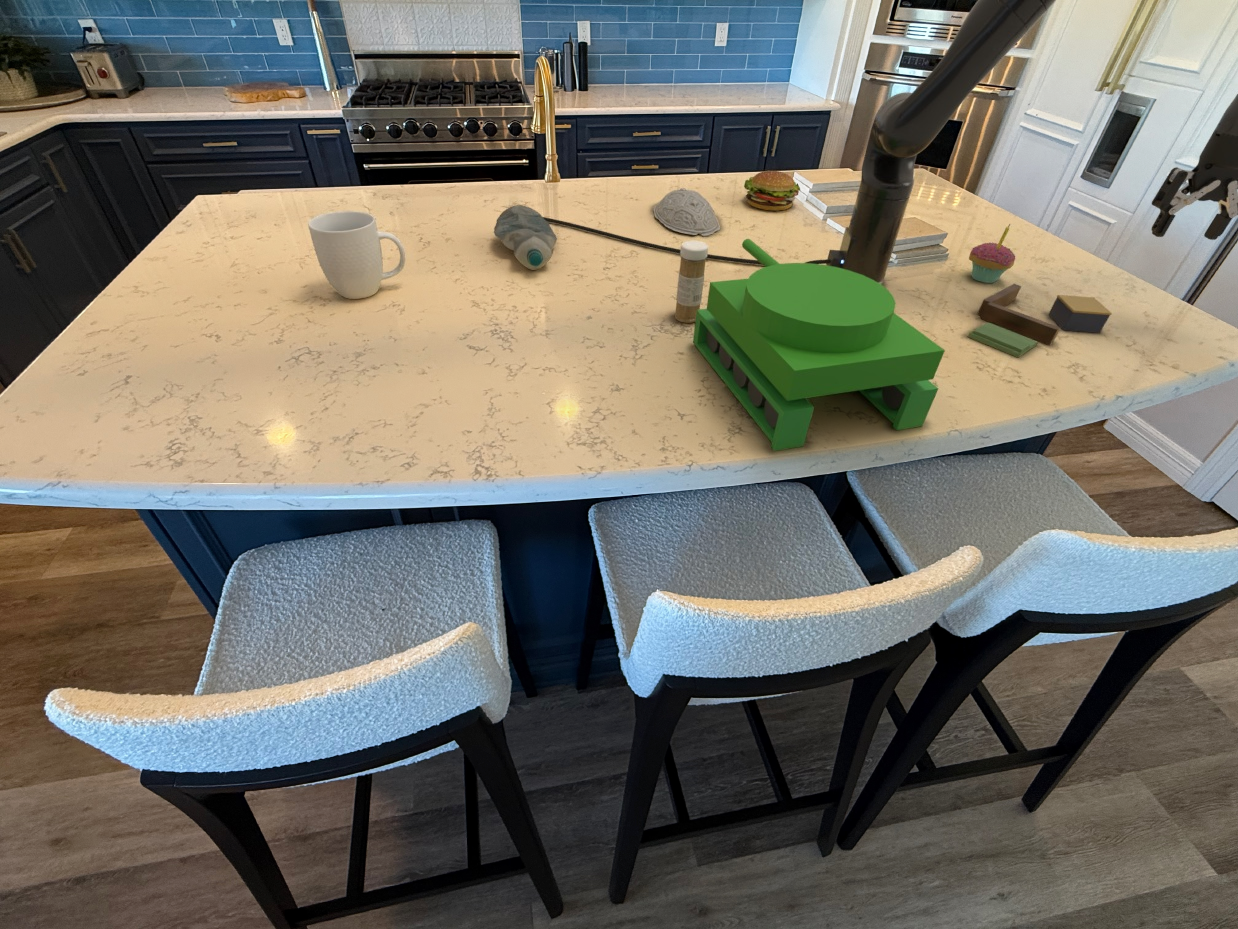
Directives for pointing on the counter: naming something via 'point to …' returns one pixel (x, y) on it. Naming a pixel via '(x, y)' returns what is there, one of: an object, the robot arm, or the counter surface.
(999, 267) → the cupcake
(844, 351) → the tank
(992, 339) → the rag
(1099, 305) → the tea tin
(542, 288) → the counter surface
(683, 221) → the grey turtle shell
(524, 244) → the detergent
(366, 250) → the mug
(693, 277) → the sprinkles bottle
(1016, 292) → the corner guide
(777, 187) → the food
